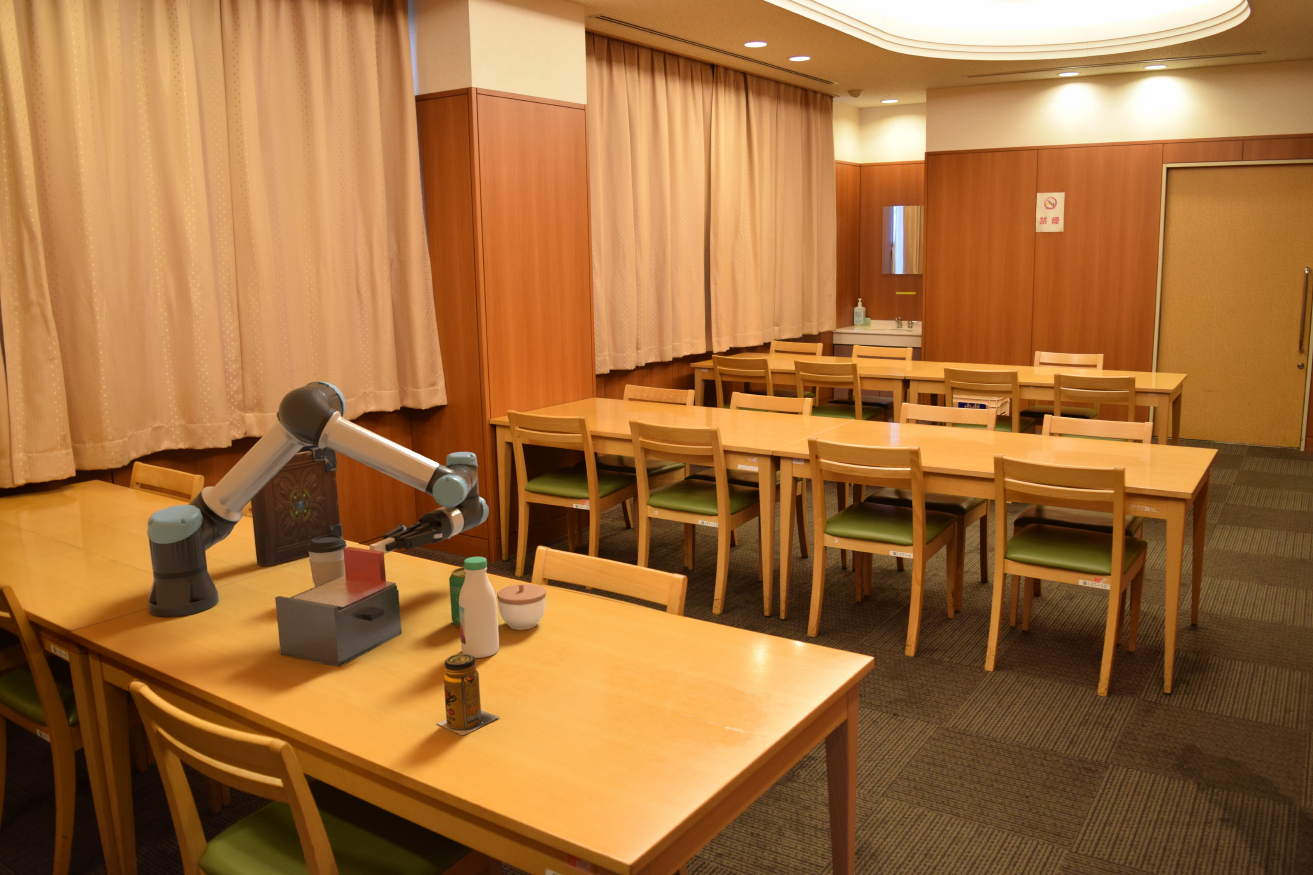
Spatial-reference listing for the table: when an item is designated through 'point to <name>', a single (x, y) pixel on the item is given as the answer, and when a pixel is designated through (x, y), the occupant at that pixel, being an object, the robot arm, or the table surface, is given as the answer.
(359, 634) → the gray drawer chest
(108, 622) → the table surface
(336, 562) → the coffee cup
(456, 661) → the condiment
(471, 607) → the milk bottle
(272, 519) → the decorative book
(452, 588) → the beverage can
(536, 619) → the lidded jar
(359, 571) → the lid
